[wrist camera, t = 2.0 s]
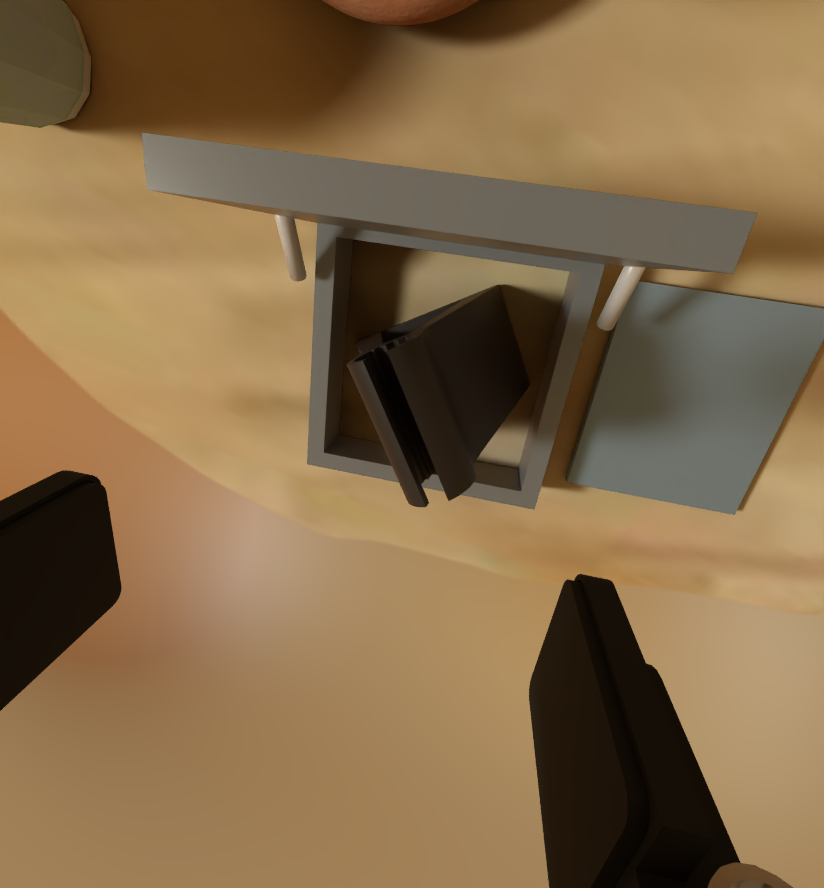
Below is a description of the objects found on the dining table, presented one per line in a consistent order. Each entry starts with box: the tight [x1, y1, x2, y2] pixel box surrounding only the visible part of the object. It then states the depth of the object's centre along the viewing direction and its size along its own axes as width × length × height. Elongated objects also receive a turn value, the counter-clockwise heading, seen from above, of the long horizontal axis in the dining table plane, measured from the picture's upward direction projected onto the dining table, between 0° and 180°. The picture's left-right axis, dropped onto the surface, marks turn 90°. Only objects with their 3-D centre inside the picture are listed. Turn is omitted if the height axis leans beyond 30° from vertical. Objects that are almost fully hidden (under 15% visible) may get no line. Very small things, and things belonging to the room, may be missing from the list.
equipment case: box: [142, 133, 757, 509], centre depth 20 cm, size 16×15×15 cm
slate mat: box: [566, 281, 824, 515], centre depth 25 cm, size 10×12×1 cm
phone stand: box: [347, 285, 530, 507], centre depth 21 cm, size 9×6×12 cm, turn 112°
